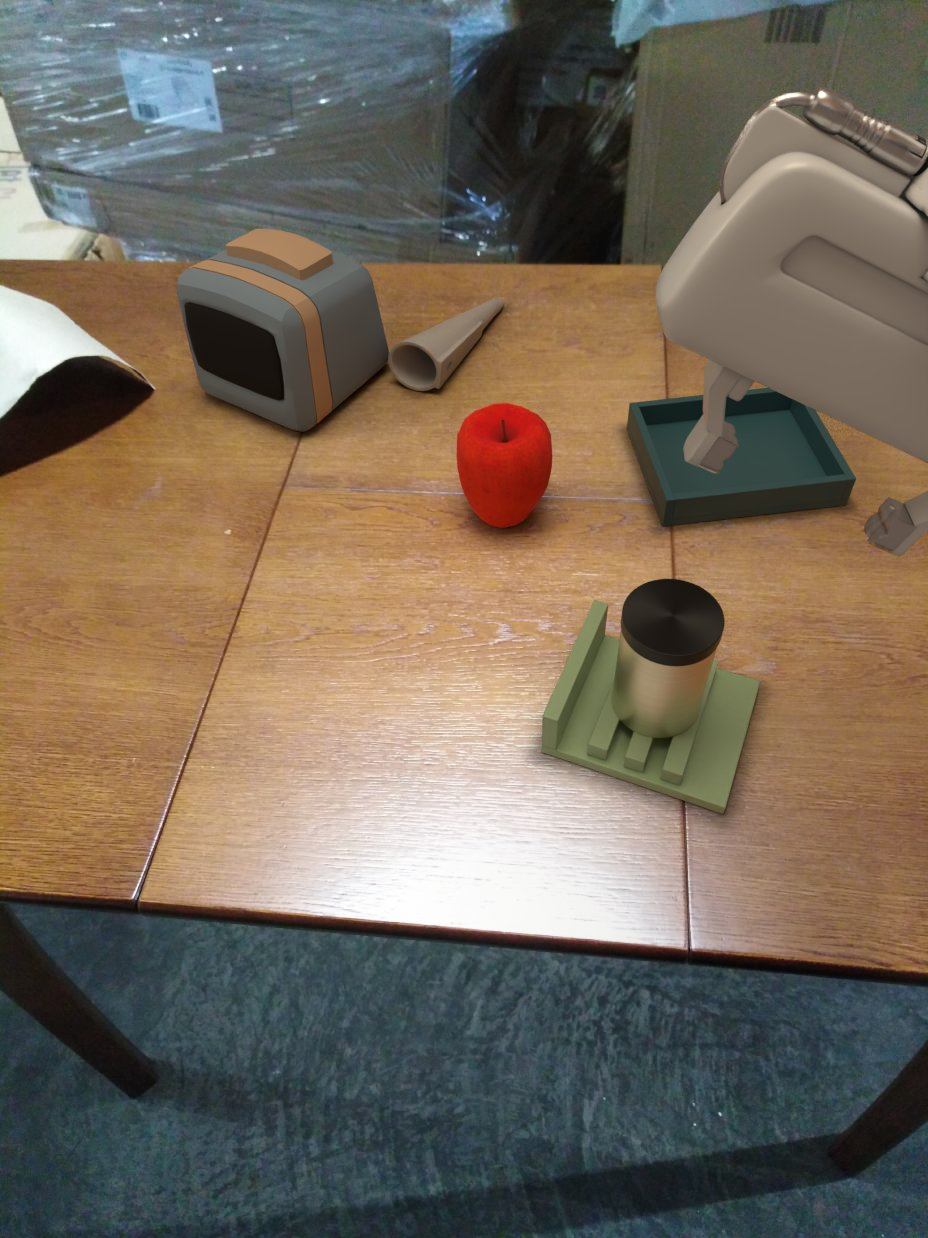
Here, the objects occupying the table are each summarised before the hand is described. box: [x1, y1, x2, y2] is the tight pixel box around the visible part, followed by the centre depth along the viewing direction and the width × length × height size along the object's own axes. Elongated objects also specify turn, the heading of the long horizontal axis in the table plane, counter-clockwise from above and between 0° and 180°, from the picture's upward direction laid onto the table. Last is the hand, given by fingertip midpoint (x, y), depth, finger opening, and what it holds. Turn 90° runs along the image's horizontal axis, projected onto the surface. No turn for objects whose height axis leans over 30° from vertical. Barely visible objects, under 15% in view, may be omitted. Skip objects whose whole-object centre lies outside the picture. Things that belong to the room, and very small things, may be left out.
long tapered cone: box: [387, 296, 505, 392], centre depth 103 cm, size 6×6×19 cm
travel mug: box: [612, 578, 726, 738], centre depth 64 cm, size 7×7×10 cm
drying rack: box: [540, 599, 761, 814], centre depth 68 cm, size 14×12×5 cm
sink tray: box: [626, 387, 857, 527], centre depth 87 cm, size 18×15×3 cm
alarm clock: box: [176, 228, 390, 433], centre depth 95 cm, size 16×16×16 cm
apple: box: [456, 402, 553, 529], centre depth 82 cm, size 9×9×11 cm
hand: (790, 503), depth 40 cm, fingers open, 8 cm apart
